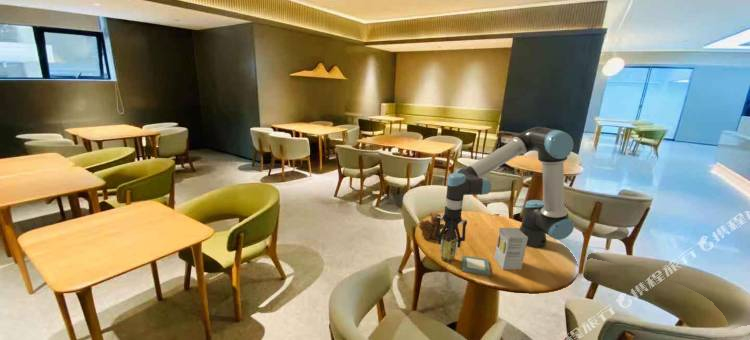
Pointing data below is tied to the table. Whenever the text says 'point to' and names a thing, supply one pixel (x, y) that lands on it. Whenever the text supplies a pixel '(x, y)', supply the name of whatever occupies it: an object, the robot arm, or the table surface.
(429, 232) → the stuffed squirrel
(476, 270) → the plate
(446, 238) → the sauce bottle
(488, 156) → the robot arm
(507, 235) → the supplement box
